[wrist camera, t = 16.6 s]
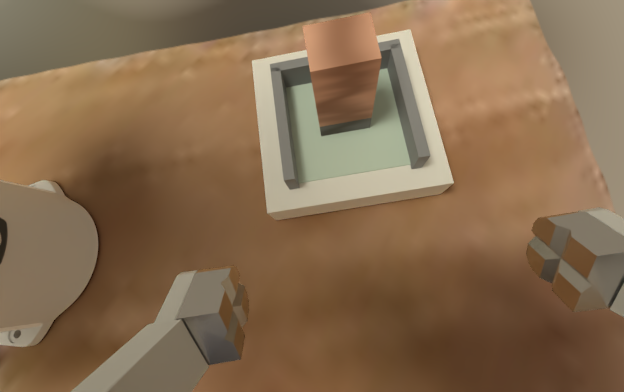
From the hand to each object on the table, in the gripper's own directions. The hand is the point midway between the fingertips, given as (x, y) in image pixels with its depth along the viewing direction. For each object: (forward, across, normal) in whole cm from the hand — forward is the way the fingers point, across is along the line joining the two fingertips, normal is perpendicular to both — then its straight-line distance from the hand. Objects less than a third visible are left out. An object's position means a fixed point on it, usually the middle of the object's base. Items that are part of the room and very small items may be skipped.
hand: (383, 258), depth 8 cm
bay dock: (+27, -2, +6) cm, 28 cm away
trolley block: (+24, -2, +3) cm, 25 cm away
